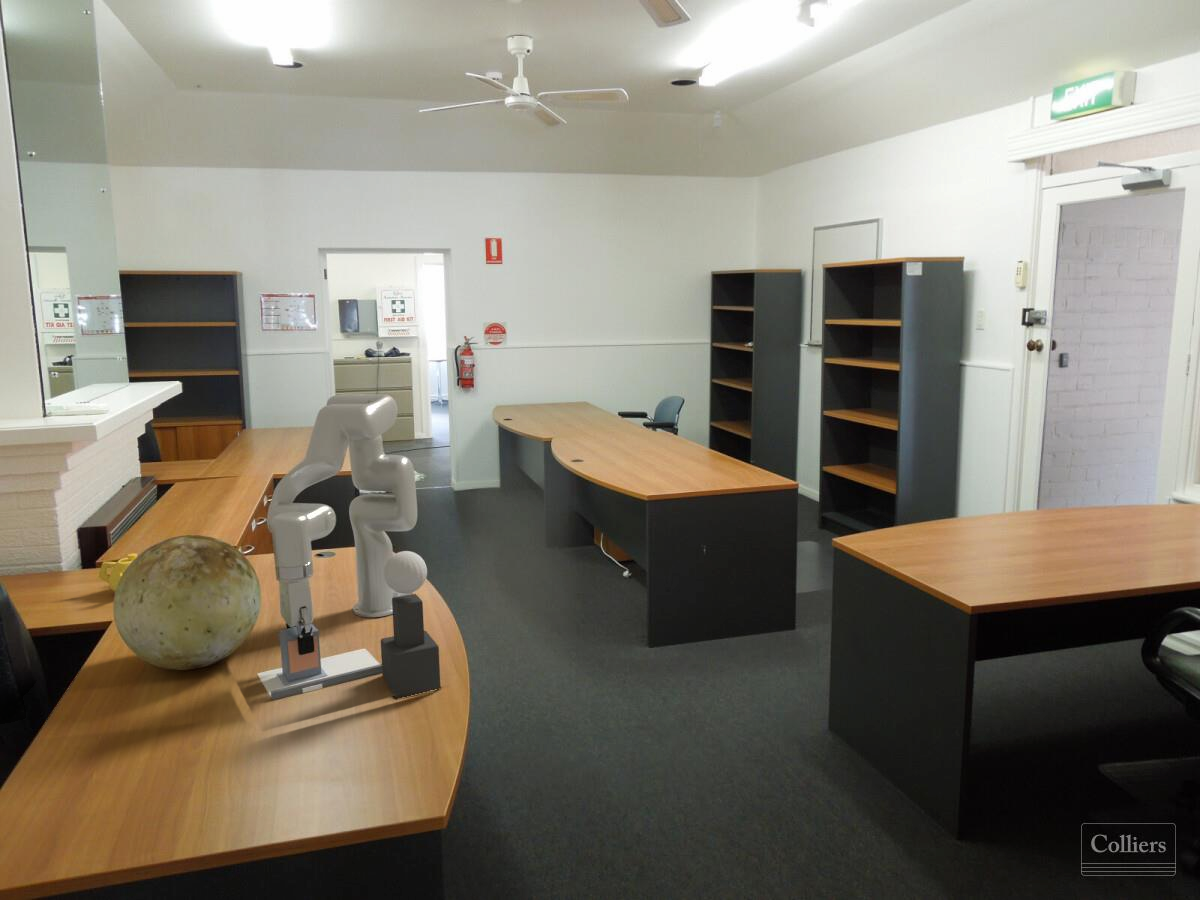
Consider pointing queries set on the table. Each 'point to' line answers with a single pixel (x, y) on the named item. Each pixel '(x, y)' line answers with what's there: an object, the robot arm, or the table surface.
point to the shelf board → (323, 674)
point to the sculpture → (408, 631)
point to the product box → (292, 661)
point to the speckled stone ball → (187, 602)
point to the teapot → (115, 570)
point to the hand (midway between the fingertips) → (300, 645)
